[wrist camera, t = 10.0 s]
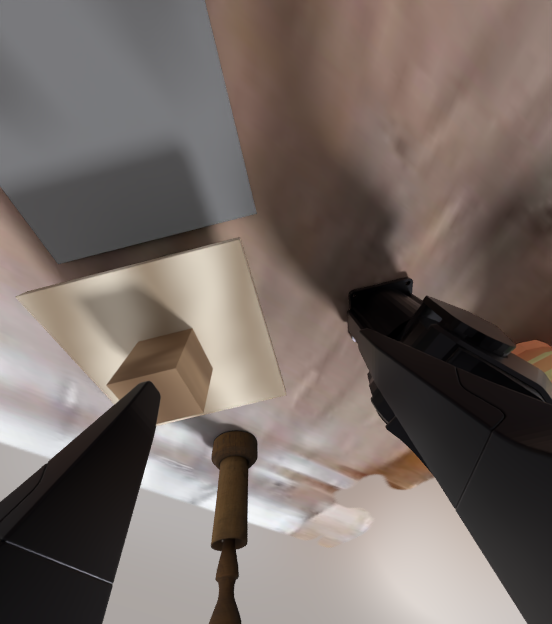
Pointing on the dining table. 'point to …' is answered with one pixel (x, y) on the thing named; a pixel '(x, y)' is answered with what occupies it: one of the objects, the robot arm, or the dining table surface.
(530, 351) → the potted cactus
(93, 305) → the lid
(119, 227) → the mat
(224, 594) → the brown wooden upright piece
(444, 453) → the robot arm
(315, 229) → the dining table surface
